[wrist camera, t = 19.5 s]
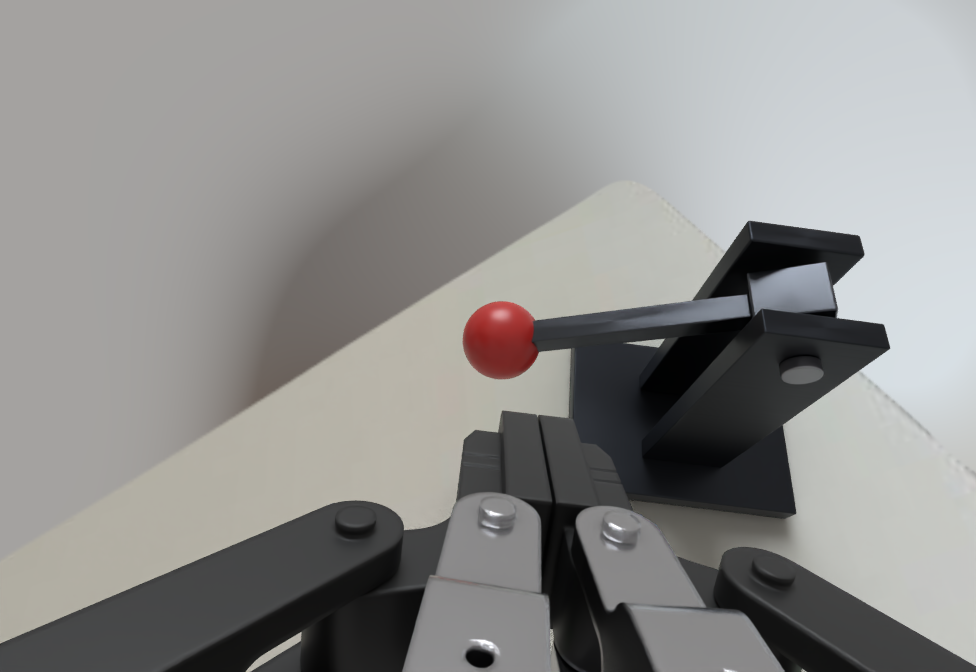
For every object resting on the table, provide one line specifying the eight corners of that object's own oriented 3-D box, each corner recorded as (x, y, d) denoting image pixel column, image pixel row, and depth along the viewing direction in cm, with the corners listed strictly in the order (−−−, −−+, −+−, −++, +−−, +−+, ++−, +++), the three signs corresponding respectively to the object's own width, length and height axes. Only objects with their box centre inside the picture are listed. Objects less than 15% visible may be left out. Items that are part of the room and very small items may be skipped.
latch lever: (477, 394, 29) (444, 360, 26) (484, 330, 31) (455, 292, 28) (836, 366, 23) (844, 318, 20) (819, 289, 25) (824, 235, 22)
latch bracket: (566, 492, 32) (657, 370, 19) (571, 345, 37) (647, 168, 24) (785, 519, 32) (1019, 417, 20) (763, 370, 37) (942, 208, 24)
